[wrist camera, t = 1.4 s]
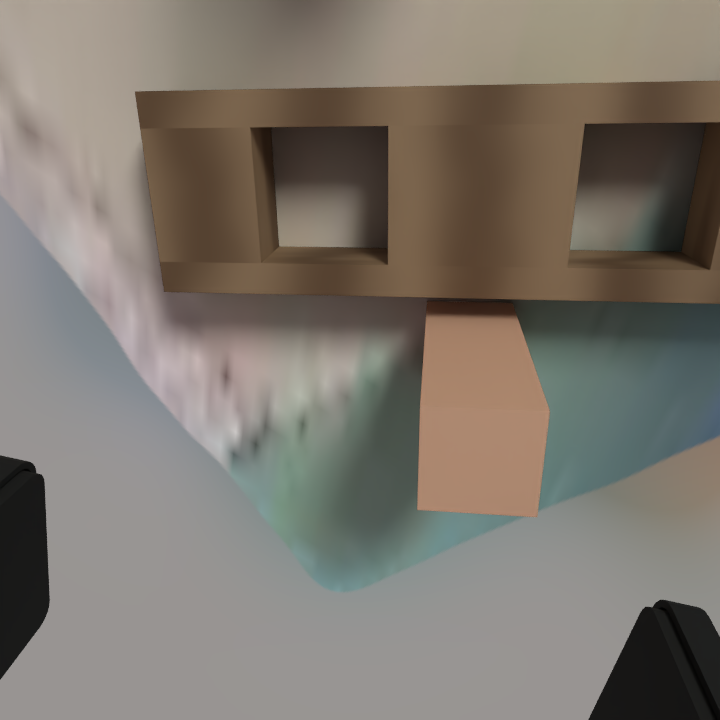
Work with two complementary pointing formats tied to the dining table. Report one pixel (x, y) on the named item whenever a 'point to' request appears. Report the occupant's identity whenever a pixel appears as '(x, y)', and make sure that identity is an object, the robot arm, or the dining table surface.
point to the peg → (479, 413)
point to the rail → (424, 192)
